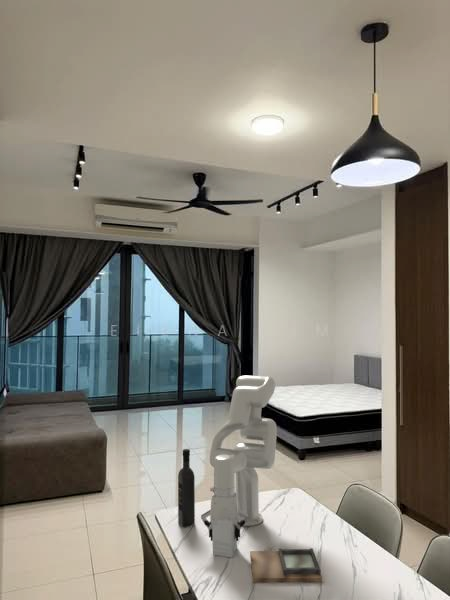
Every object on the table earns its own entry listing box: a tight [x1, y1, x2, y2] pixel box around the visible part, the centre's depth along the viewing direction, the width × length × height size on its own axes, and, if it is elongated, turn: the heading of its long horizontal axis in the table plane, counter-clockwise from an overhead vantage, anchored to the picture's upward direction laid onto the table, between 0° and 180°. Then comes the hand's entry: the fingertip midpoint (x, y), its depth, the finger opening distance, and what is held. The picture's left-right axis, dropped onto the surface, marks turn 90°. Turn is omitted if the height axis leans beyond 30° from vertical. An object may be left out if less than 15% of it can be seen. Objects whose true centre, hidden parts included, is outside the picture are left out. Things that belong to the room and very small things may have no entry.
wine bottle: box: [177, 448, 196, 528], centre depth 175 cm, size 6×6×30 cm
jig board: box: [249, 547, 323, 584], centre depth 143 cm, size 22×16×3 cm
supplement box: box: [211, 519, 238, 558], centre depth 154 cm, size 7×7×13 cm
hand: (224, 539), depth 154 cm, fingers closed on supplement box, 8 cm apart
